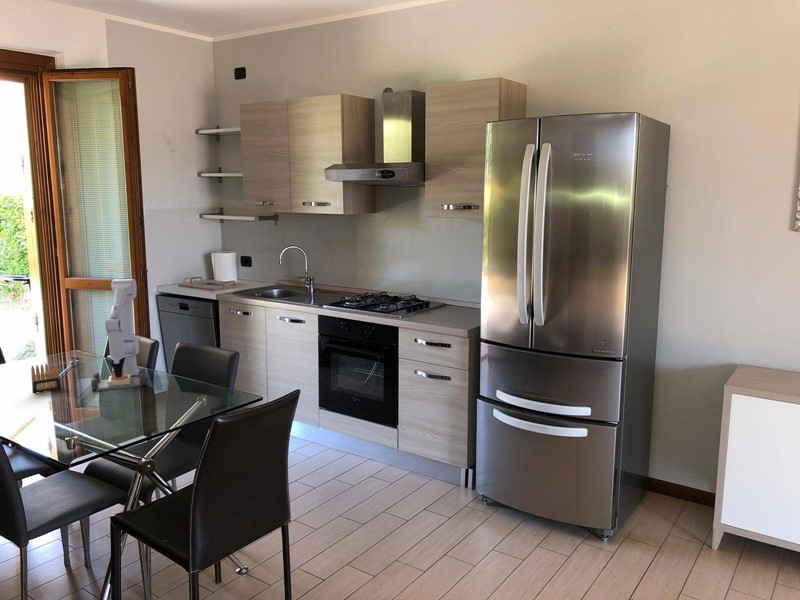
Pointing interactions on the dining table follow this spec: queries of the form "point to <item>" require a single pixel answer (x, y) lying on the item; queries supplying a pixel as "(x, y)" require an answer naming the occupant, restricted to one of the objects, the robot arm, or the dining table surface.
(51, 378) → the ammunition clip
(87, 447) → the dining table surface
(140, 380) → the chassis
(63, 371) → the dining table surface
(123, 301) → the robot arm
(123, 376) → the block
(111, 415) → the dining table surface
